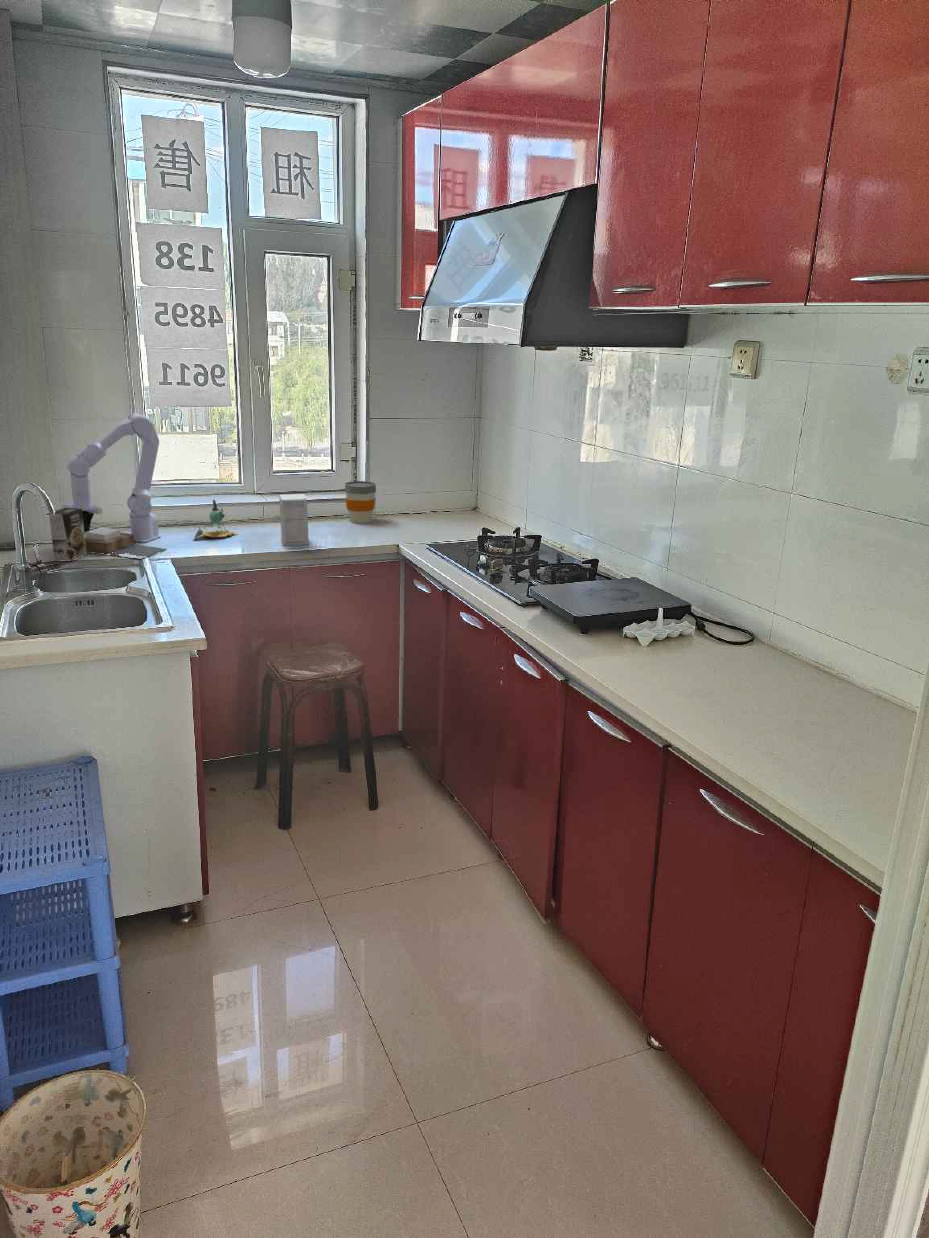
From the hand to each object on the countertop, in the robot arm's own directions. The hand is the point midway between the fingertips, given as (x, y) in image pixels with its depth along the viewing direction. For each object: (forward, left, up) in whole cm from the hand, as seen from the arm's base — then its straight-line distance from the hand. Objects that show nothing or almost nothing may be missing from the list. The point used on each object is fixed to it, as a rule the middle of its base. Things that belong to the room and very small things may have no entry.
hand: (85, 532), depth 307 cm
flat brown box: (0, +8, -5) cm, 10 cm away
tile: (0, +7, -1) cm, 8 cm away
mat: (0, +21, -5) cm, 22 cm away
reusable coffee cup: (-77, +68, -5) cm, 103 cm away
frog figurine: (-30, +31, -5) cm, 44 cm away
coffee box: (+15, +6, -5) cm, 17 cm away
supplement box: (-36, +61, -5) cm, 71 cm away
